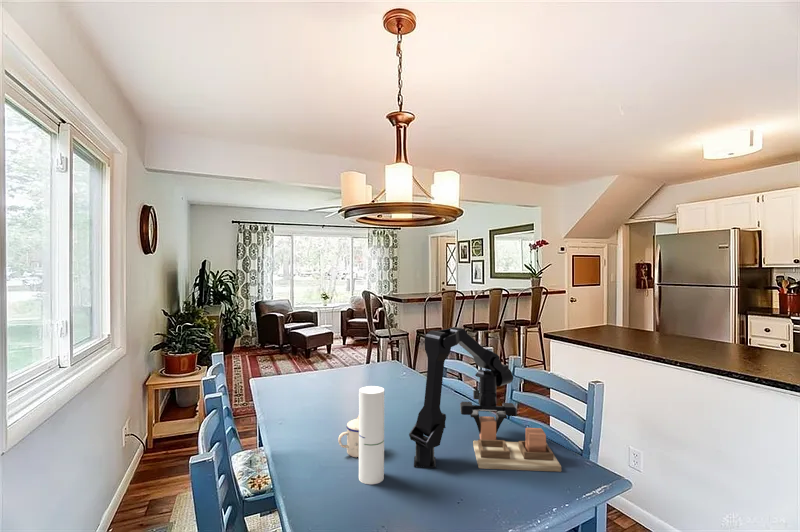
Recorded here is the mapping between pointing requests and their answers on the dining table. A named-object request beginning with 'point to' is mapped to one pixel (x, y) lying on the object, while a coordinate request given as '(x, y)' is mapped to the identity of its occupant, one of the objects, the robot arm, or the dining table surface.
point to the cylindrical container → (371, 434)
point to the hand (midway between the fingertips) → (487, 433)
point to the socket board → (517, 453)
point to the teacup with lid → (351, 438)
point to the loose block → (488, 428)
